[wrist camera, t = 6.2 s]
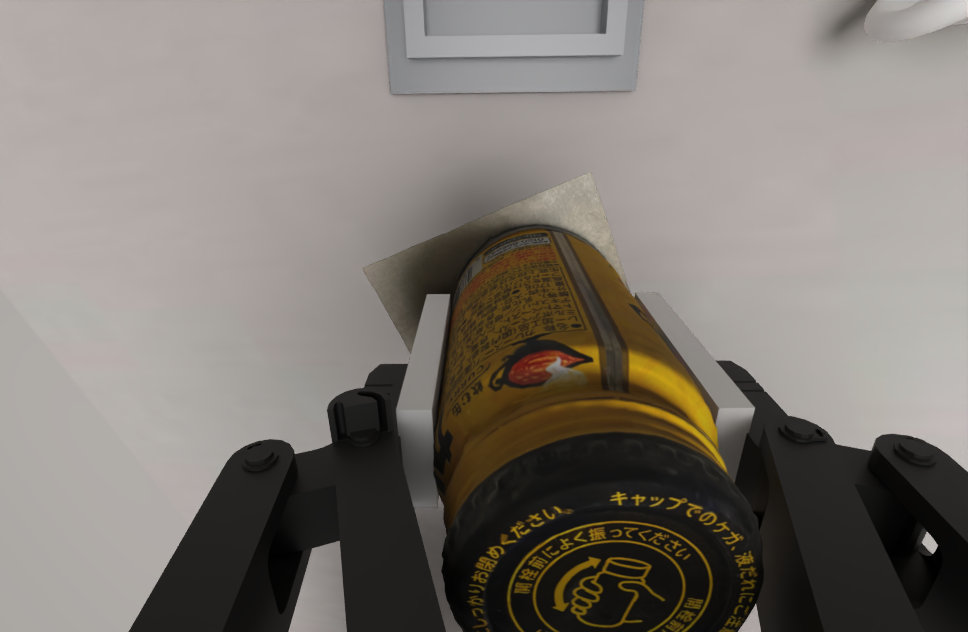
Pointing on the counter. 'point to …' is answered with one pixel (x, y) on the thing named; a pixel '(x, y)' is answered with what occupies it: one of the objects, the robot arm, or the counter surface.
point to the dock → (512, 45)
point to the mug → (912, 18)
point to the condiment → (570, 435)
